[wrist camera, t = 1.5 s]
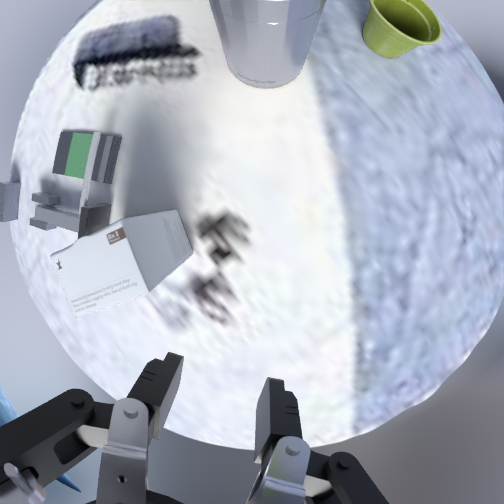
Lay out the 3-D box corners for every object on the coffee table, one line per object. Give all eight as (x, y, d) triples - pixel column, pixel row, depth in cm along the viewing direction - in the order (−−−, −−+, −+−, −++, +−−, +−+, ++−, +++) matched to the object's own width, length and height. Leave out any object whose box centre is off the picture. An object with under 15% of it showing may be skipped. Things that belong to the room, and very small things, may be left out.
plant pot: (335, 23, 25) (352, -13, 16) (384, 11, 24) (407, -19, 15) (377, 76, 27) (407, 50, 18) (422, 60, 25) (455, 38, 17)
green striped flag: (22, 130, 29) (8, 129, 25) (121, 137, 29) (107, 133, 26) (10, 216, 32) (-4, 219, 29) (102, 247, 33) (87, 253, 29)
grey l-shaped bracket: (59, 131, 28) (35, 127, 23) (125, 137, 29) (103, 130, 24) (44, 230, 32) (20, 236, 27) (105, 250, 32) (82, 260, 27)
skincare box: (140, 272, 33) (73, 323, 19) (122, 228, 32) (44, 256, 18) (197, 251, 32) (151, 300, 18) (179, 204, 31) (117, 217, 17)
